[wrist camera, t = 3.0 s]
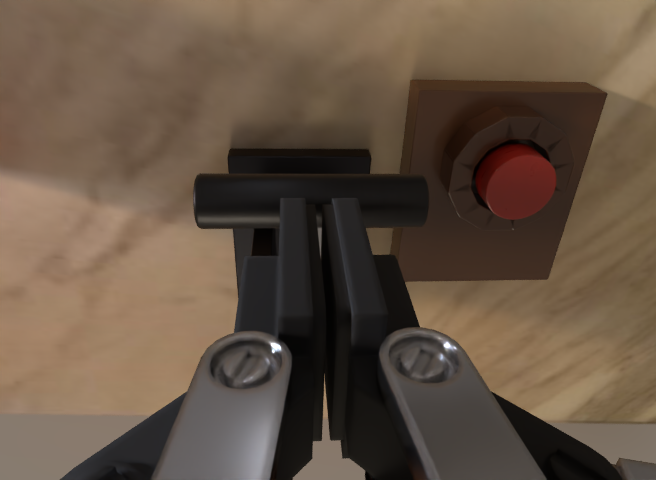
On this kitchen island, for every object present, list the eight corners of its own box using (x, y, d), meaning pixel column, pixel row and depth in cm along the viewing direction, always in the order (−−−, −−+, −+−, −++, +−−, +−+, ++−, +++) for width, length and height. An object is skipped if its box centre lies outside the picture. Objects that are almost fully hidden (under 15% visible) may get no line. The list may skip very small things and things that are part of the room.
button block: (410, 79, 27) (428, 100, 24) (586, 82, 28) (628, 103, 25) (389, 262, 34) (400, 299, 30) (533, 260, 34) (561, 297, 31)
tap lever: (196, 147, 13) (188, 226, 12) (422, 148, 14) (436, 225, 12) (241, 318, 25) (239, 367, 23) (363, 316, 25) (366, 364, 24)
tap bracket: (229, 148, 29) (198, 265, 19) (368, 148, 29) (410, 262, 19) (239, 288, 34) (219, 439, 24) (357, 287, 34) (386, 433, 24)
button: (481, 141, 26) (493, 155, 24) (549, 142, 26) (566, 155, 24) (469, 204, 28) (479, 220, 26) (532, 204, 28) (546, 220, 26)
